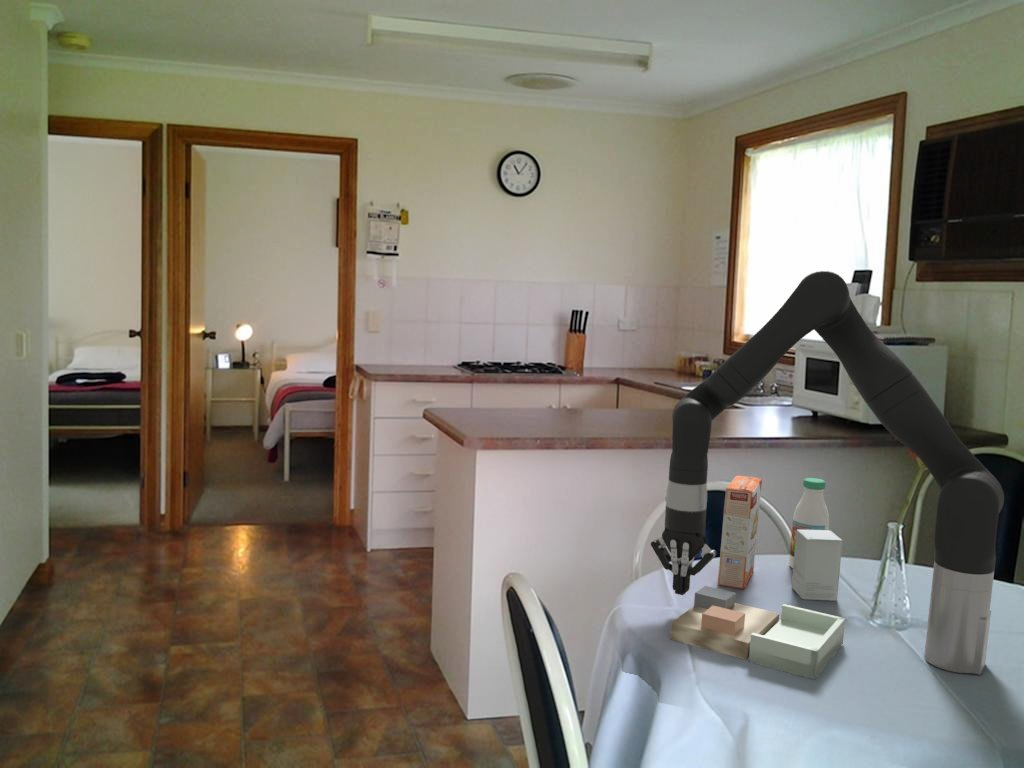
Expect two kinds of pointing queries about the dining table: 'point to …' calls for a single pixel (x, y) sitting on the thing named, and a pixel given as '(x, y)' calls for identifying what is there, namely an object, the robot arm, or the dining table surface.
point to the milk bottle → (809, 511)
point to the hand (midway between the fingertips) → (680, 593)
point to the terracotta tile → (723, 620)
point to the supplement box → (817, 564)
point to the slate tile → (714, 598)
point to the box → (799, 642)
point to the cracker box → (739, 531)
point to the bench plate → (737, 646)
